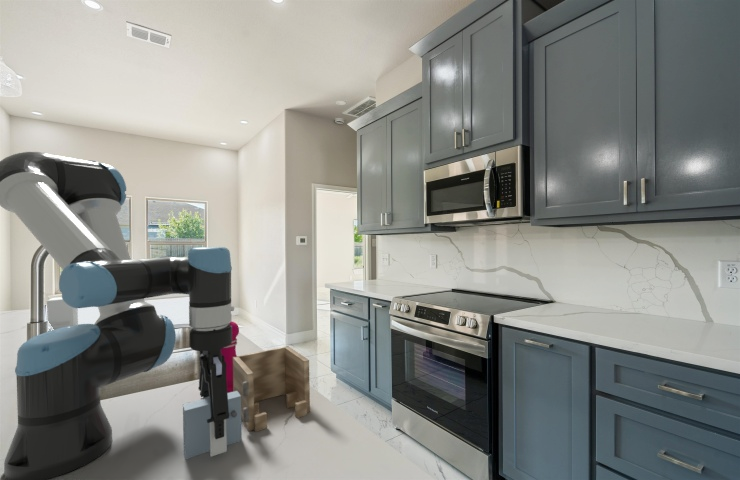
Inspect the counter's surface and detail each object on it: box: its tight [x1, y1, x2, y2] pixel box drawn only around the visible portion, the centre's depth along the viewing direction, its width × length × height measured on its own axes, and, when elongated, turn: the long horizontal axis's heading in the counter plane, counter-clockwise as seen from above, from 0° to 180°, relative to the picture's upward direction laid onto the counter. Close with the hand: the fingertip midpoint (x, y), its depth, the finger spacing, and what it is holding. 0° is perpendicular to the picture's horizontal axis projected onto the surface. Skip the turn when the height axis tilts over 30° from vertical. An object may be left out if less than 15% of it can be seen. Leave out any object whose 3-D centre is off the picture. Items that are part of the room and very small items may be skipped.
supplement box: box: [46, 296, 79, 330], centre depth 157 cm, size 9×9×15 cm
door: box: [182, 391, 243, 460], centre depth 67 cm, size 10×4×9 cm, turn 124°
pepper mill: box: [221, 321, 240, 393], centre depth 92 cm, size 7×7×20 cm
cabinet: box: [233, 346, 311, 432], centre depth 81 cm, size 15×14×12 cm
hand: (213, 439), depth 68 cm, fingers open, 9 cm apart
